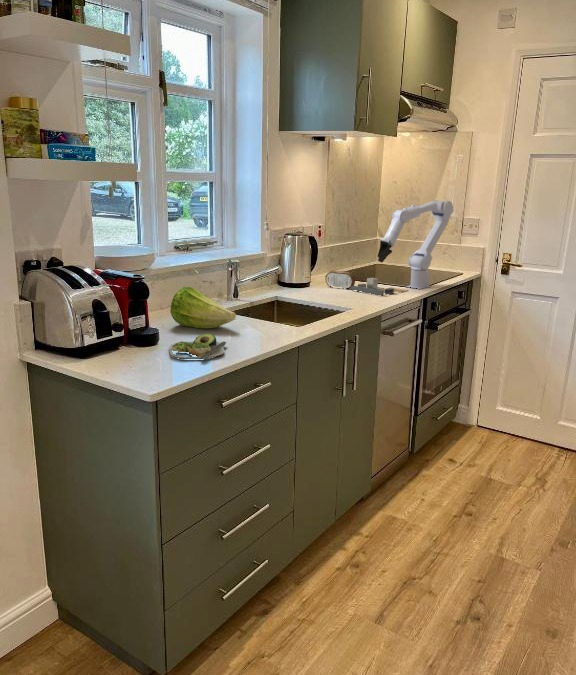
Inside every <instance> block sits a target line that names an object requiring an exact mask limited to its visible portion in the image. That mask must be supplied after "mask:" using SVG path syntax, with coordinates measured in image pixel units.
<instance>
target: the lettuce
mask: <svg viewBox="0 0 576 675" xmlns="http://www.w3.org/2000/svg"><path fill="white" fill-rule="evenodd" d="M169 313H170V315H171V317H172V319H173V320H174V321H175V323H177V324H179V325H180V326H184V327H190V328H195V329H213V328H217V327H220V326H223V325H225V324H229V323H231V322H233V321H234V320H236V317H237V314H236V313H235V312H234V311H231V310H228V309H227V308H226V307H225V306H222V305H220V304H218V303H217V302H215V301H214V300H212V299H211V298H209V297H207V296H205V295H204V294H203V293H201V292H200V291H198V290H197V289H196V288H194V287H191V286H183V287H182V288H180V289H179V290H177V292H176V293H174V295H173V297H172V300H171V302H170V311H169Z"/></svg>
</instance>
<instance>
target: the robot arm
mask: <svg viewBox="0 0 576 675" xmlns="http://www.w3.org/2000/svg"><path fill="white" fill-rule="evenodd" d="M427 212H431V214H432V216H433V219H434V220H435V223H434V224H433V226H432V228H431V229H430V231H429V233H428V235H427V237H426V238H425V240H424V242H422V245H421V247H420V248H419V249H417V250H415V251H414V253H413V254H411V255H410V256H409V258H408V266H410V270H411V271H410V284H409V285H406V287H407V288H410V287H411V288H410V289H416V288H417V289H418V290H423V289H427V288H431V285H430V275H431V274H430V271H429V268H430V266H431V263H432V260H433V256H432V255H431V254H432V252H433V250H434V249H435V247H436V246H437V244H438V241H439V240H440V238H441V236H442V234H443V233H444V231H445V229H446V227H447V226H448V223H449V220H450V217H451V216H452V214H453V212H454V205H453V203H452V201H451V200H447V201H446V200H431V201H428V202H427V203H424V204H421V205H415V204H411V205H410V206H409V207H403V208H402V209H397V210H395V211H394V212H393V213H392V214H391V215H392V216H391V217H392V219H391V221H390V222H391V223H390V225H389V227H388V229H387V231H386V233H385V235H384V237H383V238H380V240H379V241H380V242H379V243H380V244H379V250H378V251H377V252H378V253H377V258H378V262H380V263H381V264H382V263H383V262H384V261H385V260H386V259H387V257H388V256H390V254H392V252H393V250H392V249H391V248H393V247H395V244H396V242H397V240H398V238H399V237H400V236H399V235H401V232H402V229H403V227H404V225H405V223H406V224H407V223H409V222H410V221H411V220H413V219H416V218H419V217H420V216H421V214H424V213H427Z"/></svg>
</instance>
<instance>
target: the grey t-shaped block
mask: <svg viewBox="0 0 576 675" xmlns="http://www.w3.org/2000/svg"><path fill="white" fill-rule="evenodd" d="M378 282H379V278H377V277H376V278H375V277H368V278H366V288H371V289H377V290H383V291H384V289H385V287H380V286H378ZM384 292H385V291H384Z"/></svg>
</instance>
